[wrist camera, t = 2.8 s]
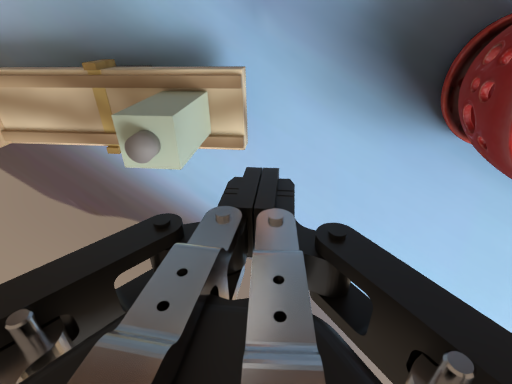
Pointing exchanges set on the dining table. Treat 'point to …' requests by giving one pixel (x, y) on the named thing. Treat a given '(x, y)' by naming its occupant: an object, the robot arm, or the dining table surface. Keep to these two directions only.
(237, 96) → the beam
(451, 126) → the plant pot
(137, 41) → the dining table surface
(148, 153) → the block
